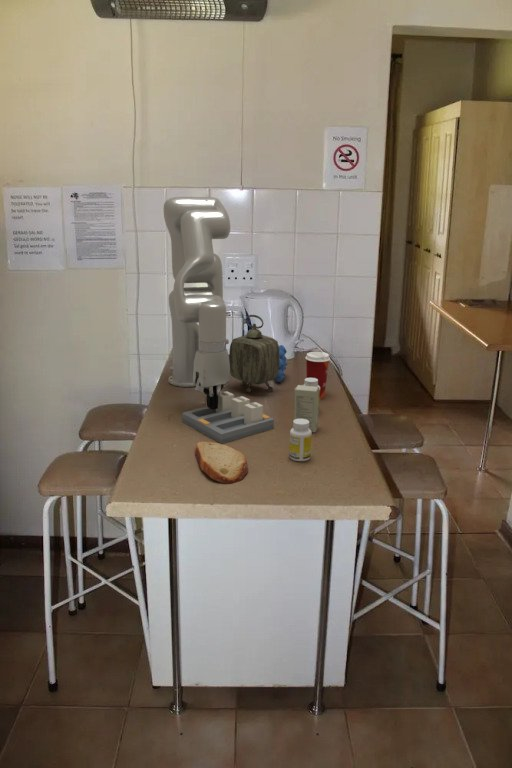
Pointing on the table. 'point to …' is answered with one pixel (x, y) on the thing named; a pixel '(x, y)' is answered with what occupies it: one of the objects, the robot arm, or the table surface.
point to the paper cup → (318, 369)
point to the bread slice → (221, 462)
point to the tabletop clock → (254, 357)
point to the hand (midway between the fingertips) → (212, 407)
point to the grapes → (281, 363)
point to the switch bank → (224, 424)
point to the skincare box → (307, 405)
